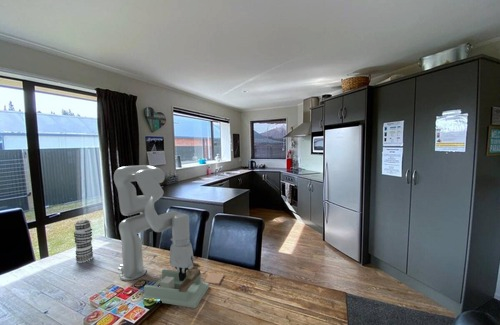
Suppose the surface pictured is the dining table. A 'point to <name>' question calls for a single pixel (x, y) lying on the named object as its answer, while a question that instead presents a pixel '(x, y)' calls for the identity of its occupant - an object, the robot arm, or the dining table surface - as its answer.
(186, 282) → the latch bar
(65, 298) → the dining table surface
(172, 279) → the cream block
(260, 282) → the dining table surface
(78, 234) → the stacked grey column
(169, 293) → the puzzle board
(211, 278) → the terracotta coaster
